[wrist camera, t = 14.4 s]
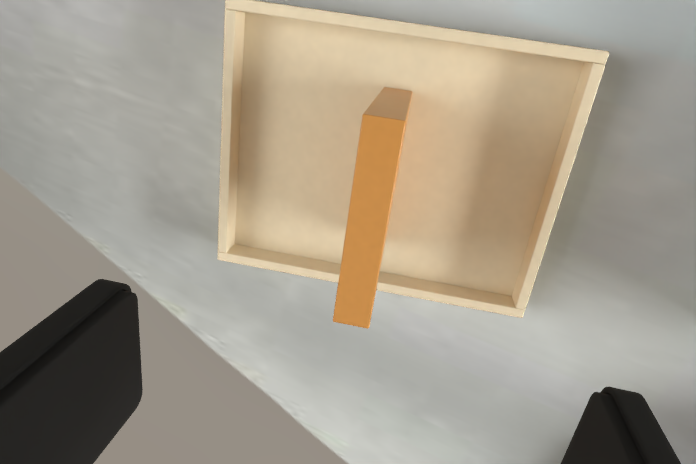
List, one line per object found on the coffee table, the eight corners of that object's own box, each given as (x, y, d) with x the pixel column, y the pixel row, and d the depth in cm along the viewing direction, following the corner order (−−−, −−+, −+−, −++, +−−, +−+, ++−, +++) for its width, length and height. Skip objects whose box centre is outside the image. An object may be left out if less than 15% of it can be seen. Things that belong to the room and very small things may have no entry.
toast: (383, 86, 27) (362, 113, 17) (412, 91, 26) (406, 120, 17) (360, 234, 30) (332, 322, 21) (385, 239, 30) (368, 329, 21)
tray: (238, -2, 26) (224, -5, 25) (596, 50, 25) (610, 51, 23) (228, 247, 32) (217, 260, 31) (517, 301, 31) (522, 318, 29)
